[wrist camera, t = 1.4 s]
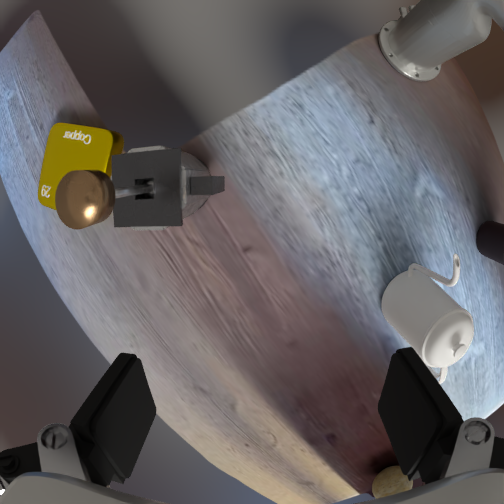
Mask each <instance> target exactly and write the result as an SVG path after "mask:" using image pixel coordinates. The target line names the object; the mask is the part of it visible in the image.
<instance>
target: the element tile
mask: <svg viewBox="0 0 504 504" xmlns="http://www.w3.org/2000/svg"><path fill="white" fill-rule="evenodd" d="M123 147H124V139H123V136H122V135H121V134H120V133H117V132H115V131H111V130H107V129H101V128H95V127H89V126H82V125H75V124H68V123H56V124H55V125H54V126H53V127H52V128H51V130H50V133H49V136H48V140H47V145H46V149H45V154H44V159H43V164H42V169H41V175H40V181H39V188H38V200H39V202H40V203H41V204H42V205H43V206H46V207H49V208H52V209H54V210H56V205H55V194H56V190H57V186H58V184H59V182H60V180H61V179H62V178H63V176H65V175H66V174H67V173H68V172H71V171H74V170H100V171H102V172H104V173H106V174H107V175H108V176H109V177H110V179H111V176H112V155H118V154H121V153H122V150H123Z"/></svg>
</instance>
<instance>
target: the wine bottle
mask: <svg viewBox="0 0 504 504" xmlns="http://www.w3.org/2000/svg"><path fill="white" fill-rule="evenodd" d="M477 247H478V250H479V252H480V253H481V254H482V255H484V256H486V257H488V258H490V259H492V260H495V261H497V262H499V263H501V264H503V265H504V224H500V223H497V222H494V221H486V222H484V223H483V224H482V225H481V227H480V229H479V231H478V234H477Z"/></svg>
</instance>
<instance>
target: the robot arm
mask: <svg viewBox="0 0 504 504" xmlns="http://www.w3.org/2000/svg"><path fill="white" fill-rule="evenodd" d="M399 10H400V13H401V17H400V18H399V19H398V20H394V21H389V22H388V23H386V24H385V25H384V26H383V27H382V28H381V30H380V32H379V45H380V48H381V51H382V53H383V55H384V56H385V58H386V59H387V61H388V62H389V63H390V64H391V65H392V66H393V67H394V68H395V69H396V70H397V71H398V72H399V73H401V74H402V75H404V76H406V77H408V78H410V79H412V80H415V81H422V82H423V81H429V80H431V79H433V78H435V77H436V76H437V75H438V74H439V72H440V69H441V64H442V63H444V62H445V61H447V60H449V59H451V58H453V57H455V56H456V55H458V54H460V53H462V52H464V51H466V50H468V49H470V48H472V47H473V46H476V45H478V44H479V43H481V42H483V41H484V40H485V39H486V38H487V37H488V35H489V33H490V29H491V18H493V19H494V21H495V22H496V23H497V24H498V25H499V26H500V27H501V28H502V29H503V30H504V0H420V1H419V2H418V3H417V4H416V6H409V11H410V12H409V13H407V9H406V8H405V7H400V8H399ZM378 412H379V414H380V417H381V419H382V422H383V424H384V427H385V429H386V432H387V434H388V437H389V439H390V442H391V444H392V447H393V450H394V452H395V455H396V457H397V460H398V463H399V465H400V468H401V471H402V473H403V475H407V477H408V479H409V481H411V480H414V479H417V478H420V477H421V479H422V481H423V484H422V486H420V487H417V488H414V489H411V490H407V491H404V492H400V493H397V494H393V495H389V496H386V497H382V498H378V499H374V500H370V501H365V502H360V503H355V504H504V439H503V438H498V437H495V436H494V429H493V426H492V425H491V424H490V423H489V422H488V421H486V420H485V419H482V418H470V419H468V420H466V421H465V422H464V421H463V419H462V416H461V415H460V413H459V412H458V410H457V409H456V407H455V406H454V404H453V403H452V401H451V400H450V398H449V397H448V396H447V394H446V393H445V391H444V390H443V388H442V387H441V385H440V384H439V383H438V381H437V380H436V378H435V377H434V376H433V374H432V373H431V371H430V370H429V369H428V367H427V366H426V365H425V363H424V362H423V361H422V359H421V358H420V357H419V355H418V354H417V353H416V351H415V350H414V349H413V348H412V347H408V348H402V349H398V350H397V351H396V353H394V354H393V355H392V357H391V361H390V365H389V369H388V373H387V376H386V380H385V383H384V387H383V390H382V393H381V397H380V400H379V403H378ZM155 415H156V406H155V403H154V400H153V397H152V394H151V391H150V388H149V385H148V382H147V379H146V376H145V372H144V369H143V365H142V362H141V360H140V359H139V358H137V356H136V355H135V354H129V353H120V354H119V355H118V357H117V358H116V359H115V361H114V362H113V363H112V365H111V366H110V367H109V369H108V370H107V371H106V373H105V374H104V376H103V377H102V378H101V380H100V381H99V382H98V384H97V385H96V386H95V388H94V389H93V391H92V392H91V393H90V395H89V396H88V398H87V399H86V400H85V402H84V403H83V405H82V406H81V407H80V409H79V410H78V412H77V413H76V415H75V416H74V417H73V419H72V420H71V424H70V426H69V427H67V426H66V425H64V424H60V423H54V424H50V425H47V426H46V427H44V428H43V429H42V430H41V431H40V432H39V434H38V440H37V442H36V443H32V444H28V445H24V446H20V447H16V448H12V449H7V450H4V451H2V452H0V504H169V503H164V502H160V501H155V500H151V499H146V498H142V497H138V496H134V495H130V494H127V493H123V492H120V491H116V490H113V489H111V488H110V486H109V484H110V482H111V480H112V481H115V482H119V483H122V484H123V483H124V481H125V479H126V478H129V477H130V476H131V473H132V471H133V468H134V466H135V463H136V461H137V459H138V456H139V454H140V451H141V449H142V447H143V444H144V442H145V439H146V437H147V435H148V432H149V430H150V427H151V425H152V422H153V420H154V418H155Z"/></svg>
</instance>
